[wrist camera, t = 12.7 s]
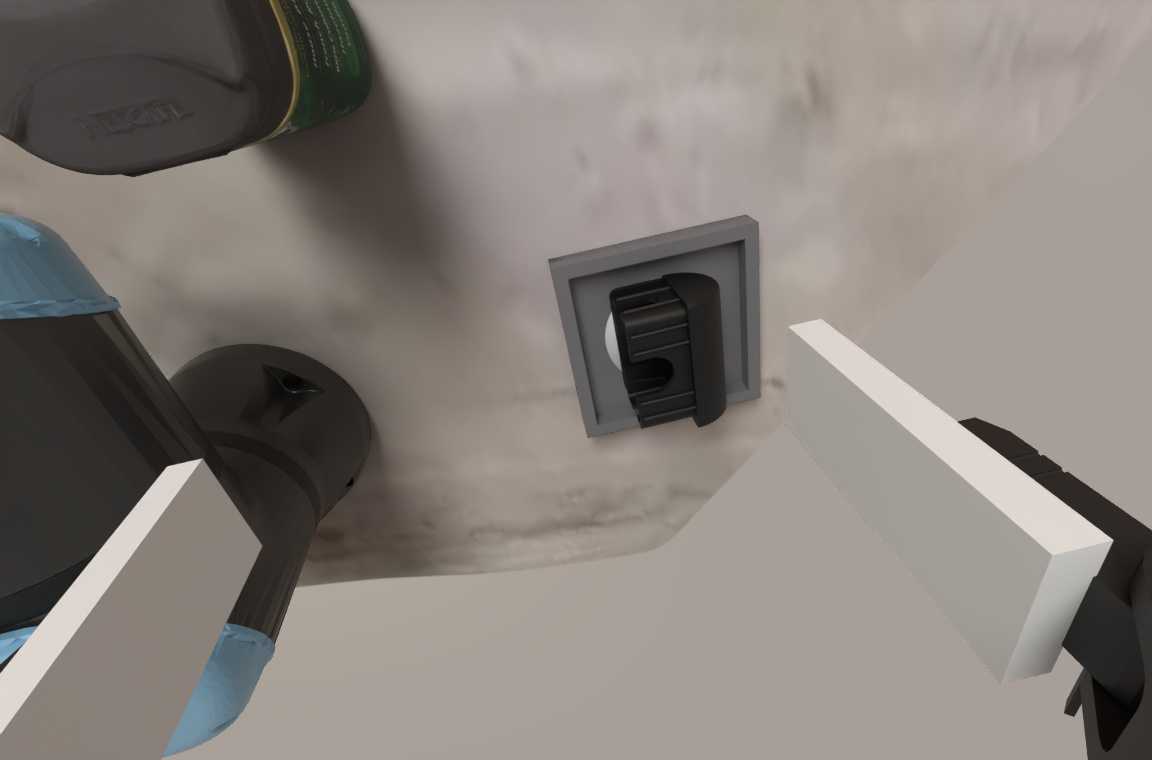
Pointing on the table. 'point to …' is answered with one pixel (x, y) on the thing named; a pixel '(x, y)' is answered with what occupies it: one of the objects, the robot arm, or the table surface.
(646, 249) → the grey square tray
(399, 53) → the table surface
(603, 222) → the table surface
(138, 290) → the table surface
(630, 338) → the end cap
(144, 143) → the coffee jar
